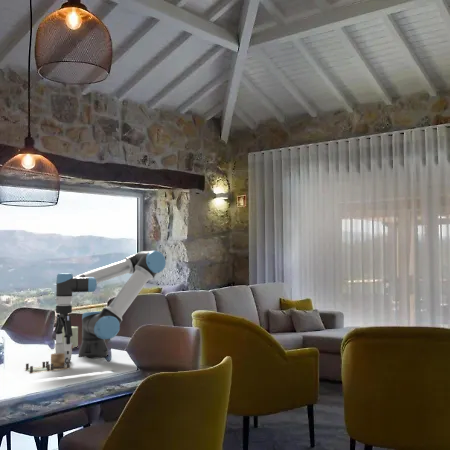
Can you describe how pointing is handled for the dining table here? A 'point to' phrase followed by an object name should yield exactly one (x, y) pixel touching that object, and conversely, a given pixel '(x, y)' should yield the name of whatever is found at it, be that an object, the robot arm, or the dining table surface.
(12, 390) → the dining table surface
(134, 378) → the dining table surface
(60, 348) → the cup
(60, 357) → the wooden round post
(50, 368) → the pin board
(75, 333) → the can
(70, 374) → the dining table surface
